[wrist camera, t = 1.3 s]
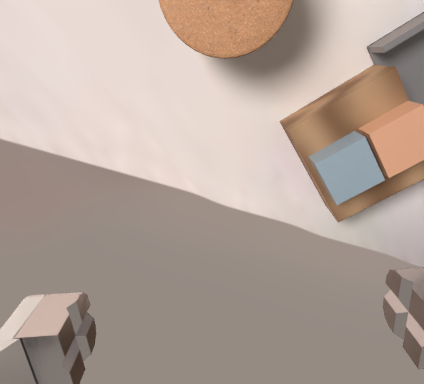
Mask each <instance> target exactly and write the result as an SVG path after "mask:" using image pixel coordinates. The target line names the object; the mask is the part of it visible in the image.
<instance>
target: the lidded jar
mask: <svg viewBox="0 0 424 384" xmlns="http://www.w3.org/2000/svg"><path fill="white" fill-rule="evenodd" d="M159 3H160V7H161V9H162V12H163V14H164V17H165V19H166V20H167V22H168V24H169V26H170V27H171V29H172V30H173V31H174V33H175V34H176V35H177V36H178V37H179V38H180V39H181V40H182V41H183V42H184V43H185V44H186V45H188V46H189V47H191V48H192V49H194V50H195V51H197V52H200V53H202V54H204V55H207V56H211V57H215V58H235V57H239V56H243V55H246V54H249V53H251V52H253V51H255V50H257V49H258V48H260V47H262V46H263V45H265V44H266V43H267V42H268V41H269V40H270V39H271V38H272V37H273V36H274V35H275V34H276V33H277V32H278V30H279V29H280V28H281V26H282V24H283V23H284V21H285V20H286V18H287V16H288V13H289V11H290V9H291V6H292V3H293V0H159Z"/></svg>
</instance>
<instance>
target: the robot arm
mask: <svg viewBox="0 0 424 384" xmlns="http://www.w3.org/2000/svg"><path fill="white" fill-rule="evenodd" d="M386 284H387V285H388V287H389V288H390V291H389V292H388V293H387V294H386V295H385V296H384V302H383V309H384V315H385V319H386V321H387V323H388V325H389V327H390V328H391V330H392V332H393V333H394V334H396V335H398V336H399V337H401V338H403V339H404V342H403V348H404V349H405V351H406V352H407V354H408V355H409V356H410V358H411V359H412V361H413V362H414V363H415V365H416V366H417V368H418V369H424V267H418V268H406V269H394V270H389V272H388V274H387V278H386ZM89 307H90V302H89V299H88V295H87V294H85V293H84V292H80V293H63V294H48V295H45V294H44V295H31V296H28V297H26V298H24V300H23V301H22V302H21V303H20V305H19V306H18V307H17V309H16V310H15V311H14V313H13V314H12V315H11V316H10V318H9V319H8V320H7V321H6V323H5V324H4V325H3V327H2V328H1V329H0V384H80V381H81V379H82V376H83V374H84V371H85V366H84V363H83V361H84V360H86V359H87V358H88V357H89V356H90V355H91V353H92V351H93V348H94V346H95V339H96V325H95V321H94V318H93V317H92V316H91V315H90V314H89V313H87V311H88V309H89Z"/></svg>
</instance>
